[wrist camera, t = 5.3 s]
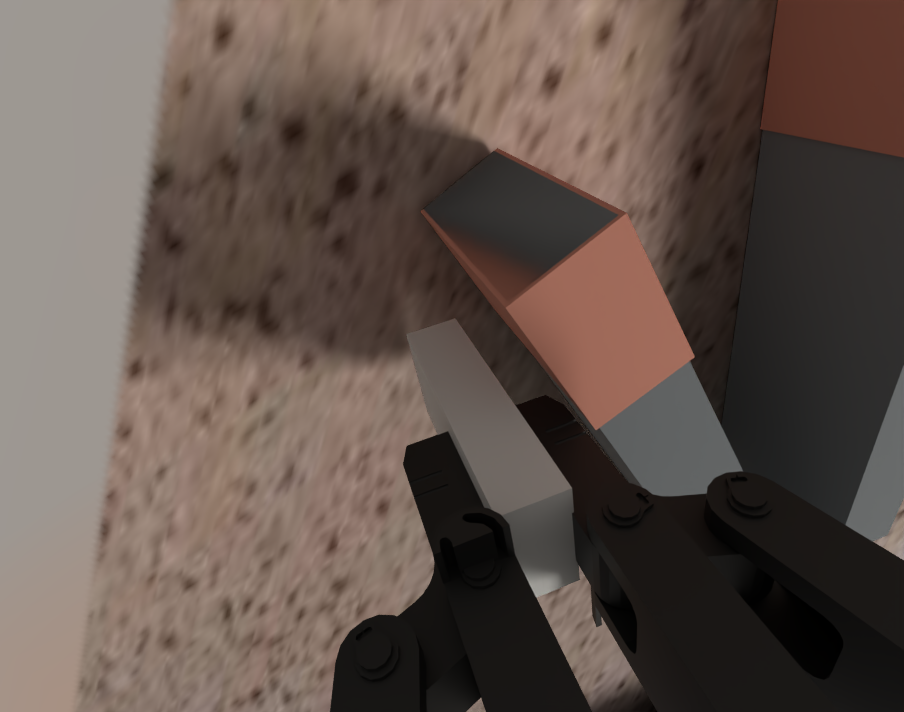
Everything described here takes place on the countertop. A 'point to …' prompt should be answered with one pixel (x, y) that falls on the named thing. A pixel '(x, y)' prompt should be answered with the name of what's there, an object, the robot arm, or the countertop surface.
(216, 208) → the countertop surface
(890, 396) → the tongs base
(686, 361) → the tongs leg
